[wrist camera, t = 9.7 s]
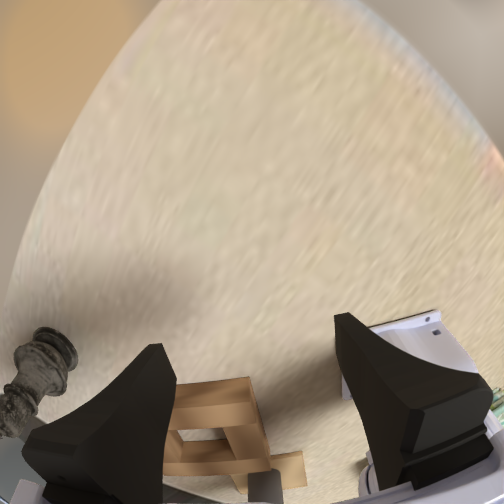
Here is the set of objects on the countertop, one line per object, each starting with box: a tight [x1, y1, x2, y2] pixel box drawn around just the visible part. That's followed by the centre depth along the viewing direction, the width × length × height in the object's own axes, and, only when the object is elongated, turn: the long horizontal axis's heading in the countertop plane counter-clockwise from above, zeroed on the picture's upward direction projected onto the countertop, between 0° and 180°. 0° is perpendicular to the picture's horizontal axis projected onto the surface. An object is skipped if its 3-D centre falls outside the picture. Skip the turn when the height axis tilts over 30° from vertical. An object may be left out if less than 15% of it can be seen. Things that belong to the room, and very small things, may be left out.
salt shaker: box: [0, 327, 78, 439], centre depth 20 cm, size 6×6×12 cm
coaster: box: [230, 451, 307, 494], centre depth 33 cm, size 9×9×1 cm
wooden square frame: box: [163, 377, 271, 476], centre depth 27 cm, size 12×12×3 cm
